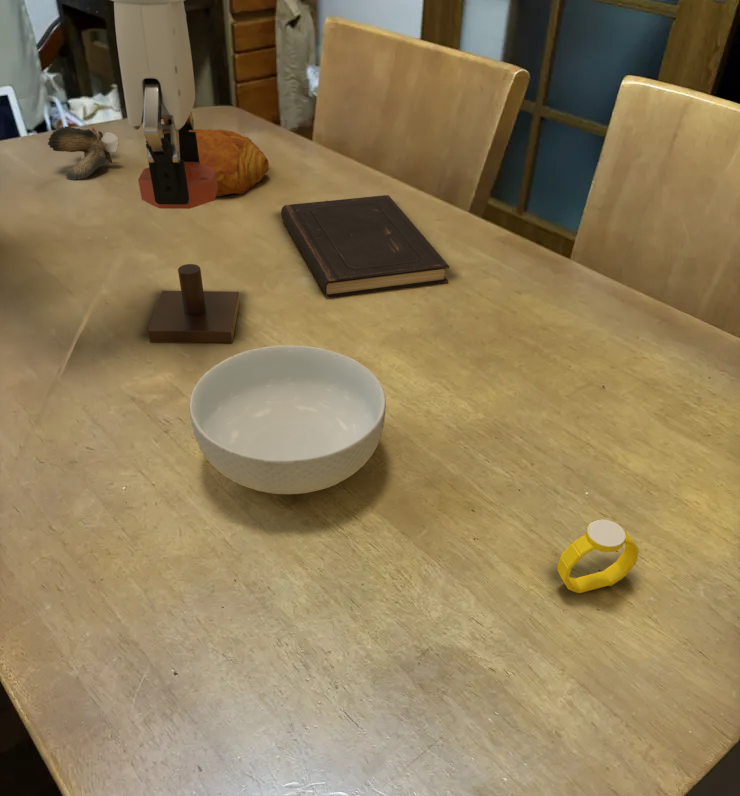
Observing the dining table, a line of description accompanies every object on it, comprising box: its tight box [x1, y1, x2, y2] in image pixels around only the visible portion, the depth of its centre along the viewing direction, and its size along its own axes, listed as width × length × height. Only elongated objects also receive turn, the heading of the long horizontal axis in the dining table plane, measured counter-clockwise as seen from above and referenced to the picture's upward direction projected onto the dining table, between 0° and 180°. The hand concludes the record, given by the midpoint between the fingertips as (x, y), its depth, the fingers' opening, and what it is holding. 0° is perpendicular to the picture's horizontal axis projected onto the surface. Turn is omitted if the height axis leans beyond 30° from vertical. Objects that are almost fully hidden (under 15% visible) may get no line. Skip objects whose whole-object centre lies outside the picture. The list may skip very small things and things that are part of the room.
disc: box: [137, 162, 218, 210], centre depth 75 cm, size 7×7×2 cm
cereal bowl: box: [188, 344, 387, 495], centre depth 66 cm, size 17×17×7 cm
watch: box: [556, 519, 640, 594], centre depth 57 cm, size 6×3×6 cm, turn 105°
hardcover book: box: [280, 194, 450, 299], centre depth 100 cm, size 16×23×2 cm
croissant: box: [189, 128, 270, 197], centre depth 114 cm, size 14×16×8 cm
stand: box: [147, 263, 241, 344], centre depth 84 cm, size 9×9×6 cm
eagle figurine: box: [47, 125, 120, 180], centre depth 116 cm, size 8×7×9 cm
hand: (179, 186), depth 75 cm, fingers closed on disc, 7 cm apart
